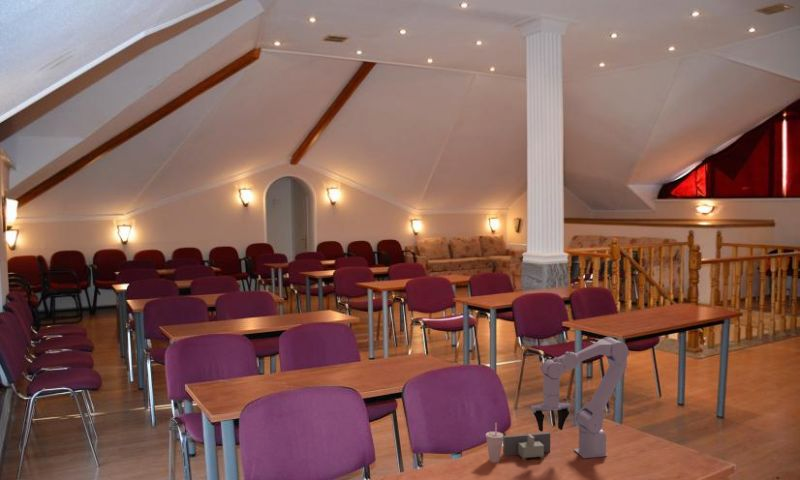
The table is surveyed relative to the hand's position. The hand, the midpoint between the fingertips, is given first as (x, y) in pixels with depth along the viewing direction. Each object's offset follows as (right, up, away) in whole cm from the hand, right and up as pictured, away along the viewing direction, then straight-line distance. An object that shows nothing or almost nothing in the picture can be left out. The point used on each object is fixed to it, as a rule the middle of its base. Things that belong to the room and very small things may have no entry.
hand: (550, 429), depth 249 cm
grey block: (-7, -10, +1) cm, 13 cm away
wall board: (-7, -10, +4) cm, 13 cm away
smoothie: (-21, -11, -1) cm, 23 cm away
